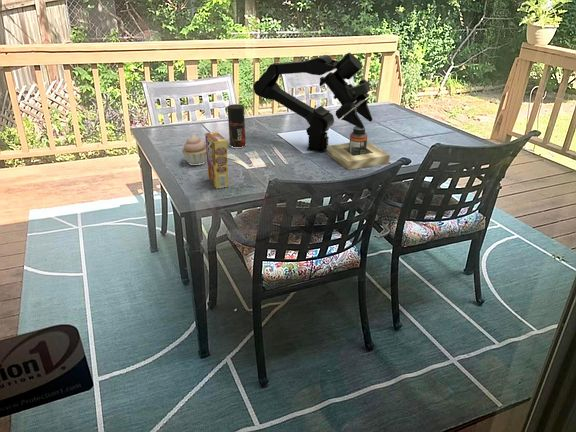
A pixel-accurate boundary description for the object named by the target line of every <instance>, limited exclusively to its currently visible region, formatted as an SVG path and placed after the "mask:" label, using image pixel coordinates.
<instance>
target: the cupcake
mask: <svg viewBox="0 0 576 432" xmlns="http://www.w3.org/2000/svg"><path fill="white" fill-rule="evenodd" d="M181 153H182V154H183V155H184V156H183V157H184V158H185V161H186V162H188V163H191V164H199V163H203V162H205V161H206V162H207V154H206V141H204V139H202V138H200V137H198V136H197V135H195V134H192V136H190V137H189V138H188V139H186V142H185V143H184V145H183V148H182V150H181ZM206 162H205V163H206ZM188 163H187V164H188Z"/></svg>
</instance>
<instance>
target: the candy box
mask: <svg viewBox="0 0 576 432" xmlns="http://www.w3.org/2000/svg"><path fill="white" fill-rule="evenodd" d="M204 136H205V137H204V138H205V144H206V154H207V158H206V164H207V165H206V167H207V177H208V178H209V179H210V180H209V179H208V178H207V179H208V180H209V182H210V183H211V182H212V183H213V184H214V185H213V184H212V183H211V184H212V185H213V186H214V188H215V189H216V190H217V189H218V188H219V189H225V188H228V187H229V167H228V165H229V164H228V161H229V160H228V140H227V139H226V138H225V137H224V136H223V135H221V133H219V132H217V131H210V132H206V133H205V134H204ZM224 187H225V188H224Z"/></svg>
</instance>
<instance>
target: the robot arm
mask: <svg viewBox="0 0 576 432" xmlns="http://www.w3.org/2000/svg"><path fill="white" fill-rule="evenodd" d="M362 69H363V64H362V62H361V61H360V59H359V58H358V57H356V56H355V55H353V54H352V53H351V52H348V53H345V55H344V56H343V58H342V59H341V60H337V59H332V57H331V56H329V55H327V54H323V55H321V56H317V57H314V58H310V59H307V60H306V59H305V60H295V61H284V62H283V61H282V62H278V61H277V62H274V63H271V64H269V66H268V67H267V69H266V70H265V71H264V72H263V73H262V75H260V77H259V78H258V79H257V80H256V81H254V84H253V91H254V94H255V95H256V96H258V97H261V98H263V99H268V100H271V101H274V102H277V103H278V104H280V105H282V106H283V107H285V108H287V109H288V110H290V111H291V112H293V113H295V114H297V115H298V116H300V117H301V118H303V119H305V120H306V122H307V123H308V125H309V126H308V127H307V128H305V129H306V130H305V131H306V134H307V136H308V142H307V144H308V147H306V151H310V152H311V151H312V152H319V153H324V152H325V151H327V146H329V136H328V131H329V130H330V128H331V127H332V126H334V123H335V118H334V115H333V113H331V110H328V109H326V108H325V107H324V106H323V105H322V106H321V105H319V106H318V107H315V108H314V107H312V106H310V105H308V104H307V103H305V102H303V101H302V100H300V99H299V98H297V97H295V96H293V95H291V94H290V93H288V92H287V91H285V90H283V89H282V88H281V86H280V85H279V83H278V80H279V78H280V75H289V74H302V73H305V74H309V75H313V76H320V77H319V86H320V87H322V86H324V85H326V86H327V88H329V90H330V91H331V92H332V94H333V95H334V96H333V99H334V100H338V102H339V103H340V104H341V106H340V107H338V109H337V110H335V116H336V119H338V120H341V121H344V122H346V123H349V124H351V125H353V126H354V127H355V126H357V127H359V128H361V129H363V128H364V127H365V125H364V123H363V122H362V120H361V118H360V117H359V115H360V116H362V117H363V118H364V119H366V120H367V121H369V122H372V121H373V117H372V114H371V112H370V109H369V106H368V103H369V100H370V98H369V97H370V95H369V92H371V87H370V86H371V83H370V82H369V81H367V80H366V79H365V78H364V79H361V80H360V81H359V82H358V84H357V85H353V84H351V83H349V84H348V82H347V81H346V80H351V79H352V78H353V77H354V76H355V75H356V74H358V73H359V72H360V71H361V70H362ZM334 70H335V71H334ZM332 71H334V72H332ZM325 74H326V75H325ZM323 75H325V76H323ZM357 113H358V114H359V115H358V114H357Z"/></svg>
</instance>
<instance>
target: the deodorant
mask: <svg viewBox="0 0 576 432" xmlns="http://www.w3.org/2000/svg"><path fill="white" fill-rule="evenodd" d="M227 118H228V119H227V122H228V134H229V135H228V138H229V146H230V145H231V146H233V147H242V146H245V144H246V125H245V121H246V120H245V106H244V104H240V103H237V104H236V103H234V104H229V105H227ZM245 147H246V146H245Z"/></svg>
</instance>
